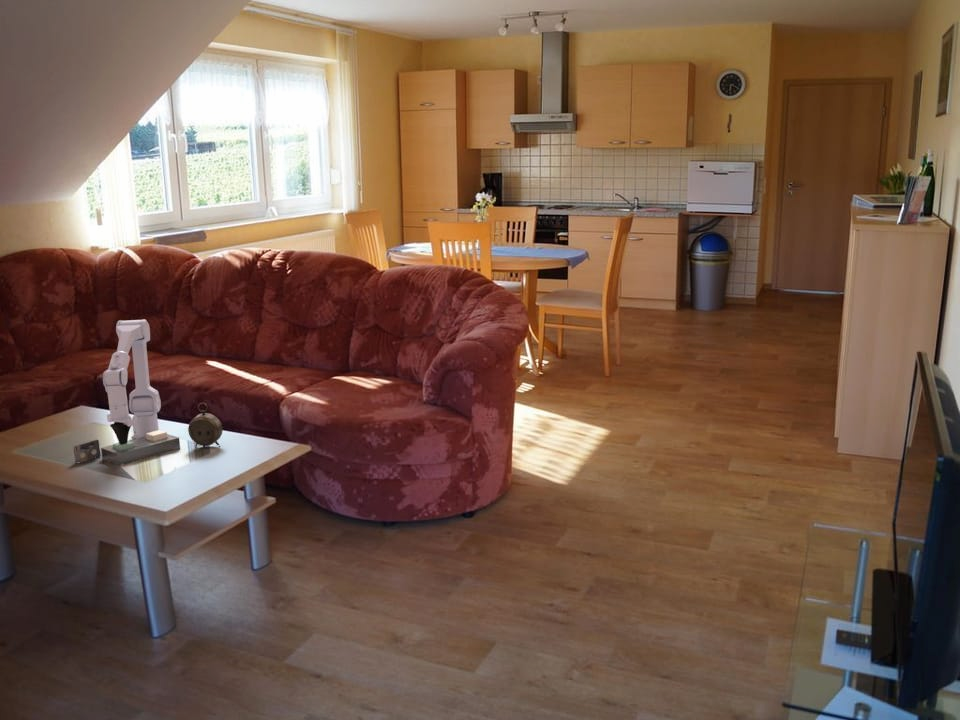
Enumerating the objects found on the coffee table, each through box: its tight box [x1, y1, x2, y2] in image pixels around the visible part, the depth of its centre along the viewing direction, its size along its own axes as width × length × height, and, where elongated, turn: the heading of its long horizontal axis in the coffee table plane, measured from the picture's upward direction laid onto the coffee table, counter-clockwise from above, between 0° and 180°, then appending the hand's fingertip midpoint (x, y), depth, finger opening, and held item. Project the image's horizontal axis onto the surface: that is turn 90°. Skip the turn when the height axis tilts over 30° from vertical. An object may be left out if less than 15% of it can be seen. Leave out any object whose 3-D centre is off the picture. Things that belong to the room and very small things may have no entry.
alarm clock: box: [187, 402, 223, 450], centre depth 299 cm, size 11×5×16 cm, turn 84°
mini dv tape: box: [73, 439, 102, 463], centre depth 292 cm, size 8×2×6 cm, turn 144°
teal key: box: [112, 440, 135, 451], centre depth 292 cm, size 5×5×4 cm
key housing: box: [100, 433, 181, 467], centre depth 296 cm, size 12×22×4 cm, turn 140°
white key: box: [146, 429, 168, 442], centre depth 300 cm, size 5×5×4 cm
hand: (123, 443), depth 291 cm, fingers closed, pressing on teal key
